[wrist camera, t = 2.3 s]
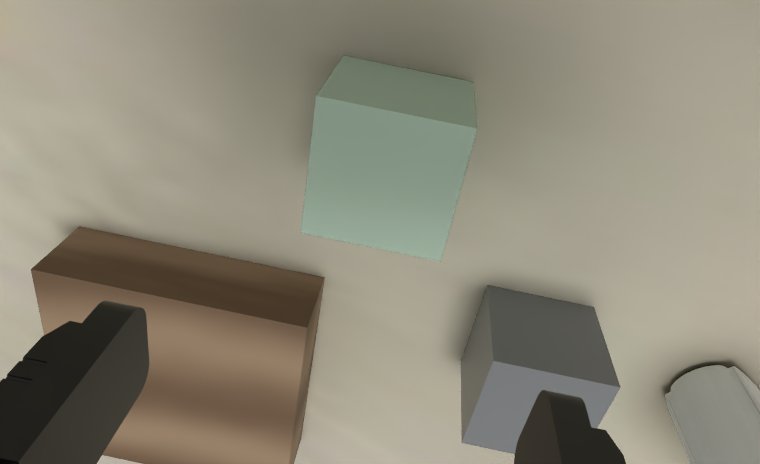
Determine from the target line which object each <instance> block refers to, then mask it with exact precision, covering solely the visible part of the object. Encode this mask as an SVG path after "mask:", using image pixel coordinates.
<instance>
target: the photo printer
mask: <svg viewBox="0 0 760 464" xmlns="http://www.w3.org/2000/svg"><path fill="white" fill-rule="evenodd" d="M665 399H666V403H667V406H668V410H669V412H670V415H671V418H672V420H673V422H674V425H675V427H676V430H677V432H678V434H679V437H680V439H681V442H682V444H683V446H684V449H685V451H686V453H687V456H688V458H689V461H690V463H691V464H760V390H759V389H758V388H757V386H756V385H755V384H754V383H753V382H752V381H751V380H750V379H749V378H748V377H747V376H746V375H745V374H744V373H743V372H742V371H740V370H739V369H738V368H736V367H735V366H732V367H730V368H726V367H725V366H722V365H713V366H706V367H702V368H698V369H695V370H693V371H690V372H688V373H686V374H684V375H683V376H681V377H680V378H679V379H677V380H676V381H675V382H674V383H673V384H672V386H671V391H670V392H669V393H667V394H665Z"/></svg>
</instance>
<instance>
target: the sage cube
mask: <svg viewBox="0 0 760 464" xmlns="http://www.w3.org/2000/svg"><path fill="white" fill-rule="evenodd" d="M476 132H477V117H476V106H475V94H474V82H471V81H466V80H461V79H456V78H451V77H446V76H441V75H436V74H431V73H426V72H421V71H417V70H412V69H407V68H402V67H397V66H392V65H387V64H382V63H377V62H372V61H367V60H362V59H358V58H353V57H348V56H343V57H342V59H341V60H340V62H339V63H338V65H337V66H336V67H335V69H334V70H333V72H332V73H331V75H330V76H329V78H328V79H327V80H326V82H325V83H324V85H323V86H322V88H321V89H320V90H319V92H318V93H317V95H316V99H315V108H314V117H313V126H312V135H311V145H310V154H309V163H308V172H307V181H306V190H305V199H304V208H303V217H302V226H301V233H304V234H309V235H314V236H319V237H324V238H328V239H333V240H338V241H343V242H348V243H352V244H357V245H362V246H367V247H372V248H376V249H381V250H386V251H391V252H396V253H401V254H405V255H410V256H415V257H420V258H425V259H429V260H434V261H439V262H441V258H442V255H443V251H444V248H445V244H446V240H447V237H448V233H449V230H450V226H451V222H452V219H453V215H454V212H455V208H456V204H457V201H458V197H459V194H460V190H461V186H462V183H463V179H464V176H465V172H466V168H467V165H468V161H469V157H470V154H471V150H472V147H473V143H474V139H475V136H476Z"/></svg>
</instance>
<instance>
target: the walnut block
mask: <svg viewBox="0 0 760 464" xmlns="http://www.w3.org/2000/svg"><path fill="white" fill-rule="evenodd" d="M31 272H32V277H33V282H34V287H35V292H36V297H37V302H38V307H39V312H40V317H41V322H42V326H43V331H44V335H46V334H48V333H49V332H51V331H53V330H55V329H56V328H58V327H60V326H61V325H63V324H65V323H67V322H68V321H73V322H78V323H82V322H83V321H84V320H85V319H86V318H87V317H88V315H89V314H90V313H91V312H92V311H93V310H94V309H95V307H96V306H97V305H98V304H99V303H101V302H102V301H111V302H116V303H121V304H126V305H131V306H136V307H141V308H143V309H144V310H145V312H146V319H147V334H148V349H149V371H148V376H147V379H146V382H145V385H144V387H143V389H142V391H141V393H140V395H139V397H138V398H137V400H136V401H135V403H134V405H133V406H132V408H131V409H130V411H129V413H128V414H127V416H126V417H125V419H124V421H123V422H122V424H121V425H120V427H119V428H118V430H117V432H116V433H115V435H114V436H113V438H112V440H111V441H110V443H109V444H108V446H107V448H106V449H105V451H104V452H103V454H102V455H105V456H110V457H115V458H119V459H124V460H129V461H133V462H138V463H143V464H294V461H295V458H296V454H297V451H298V447H299V444H300V440H301V435H302V428H303V421H304V415H305V408H306V401H307V394H308V387H309V381H310V374H311V367H312V360H313V353H314V346H315V340H316V333H317V326H318V319H319V312H320V306H321V299H322V292H323V285H324V277H319V276H314V275H310V274H305V273H300V272H295V271H290V270H286V269H281V268H276V267H271V266H266V265H262V264H257V263H252V262H247V261H242V260H238V259H233V258H228V257H223V256H218V255H214V254H209V253H204V252H199V251H194V250H190V249H185V248H180V247H175V246H171V245H166V244H161V243H156V242H151V241H147V240H142V239H137V238H132V237H127V236H123V235H118V234H113V233H108V232H103V231H99V230H94V229H89V228H84V227H78V228H77V229H76V230H75V231H74V232H73V233H72V234H70V235H69V236H68V237H67V238H66V239H65V240H64V241H62V242H61V243H60V244H59V245H58V246H57V247H56V248H55V249H53V250H52V251H51V252H50V253H49V254H48V255H47V256H46V257H44V258H43V259H42V260H41V261H40V262H39V263H38V264H37V265H35V266H34V267H33V268H32V269H31Z"/></svg>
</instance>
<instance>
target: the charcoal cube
mask: <svg viewBox="0 0 760 464" xmlns="http://www.w3.org/2000/svg"><path fill="white" fill-rule="evenodd" d="M619 389H620V385H619V382H618V379H617V376H616V373H615V370H614V367H613V364H612V361H611V357H610V354H609V351H608V348H607V345H606V342H605V339H604V336H603V333H602V330H601V327H600V324H599V321H598V318H597V315H596V312H595V309H594V307H590V306H585V305H581V304H576V303H571V302H566V301H561V300H557V299H552V298H547V297H542V296H537V295H533V294H528V293H523V292H518V291H513V290H509V289H504V288H499V287H494V286H489V285H487V288H486V291H485V294H484V296H483V299H482V302H481V305H480V308H479V311H478V314H477V317H476V320H475V323H474V325H473V328H472V331H471V334H470V337H469V340H468V343H467V346H466V349H465V352H464V355H463V357H462V360H461V420H462V443H465V444H470V445H475V446H479V447H484V448H489V449H494V450H498V451H503V452H508V453H513V454H515V451H516V446H517V442H518V439H519V436H520V434H521V432H522V430H523V427H524V425H525V423H526V421H527V419H528V416H529V414H530V412H531V410H532V407H533V405H534V403H535V401H536V399H537V396H538V395H539V393H540V392H541V391H542V390H546V391H551V392H556V393H561V394H566V395H571V396H576V397H580V398H582V399H583V401H584V403H585V406H586V409H587V413H588V417H589V420H590V424H591V427H592V428H597V427H598V426H599V424H600V422H601V420H602V419H603V417H604V415H605V413H606V412H607V410H608V408H609V406H610V405H611V403H612V401H613V400H614V398H615V396H616V394H617V393H618V391H619Z"/></svg>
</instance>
